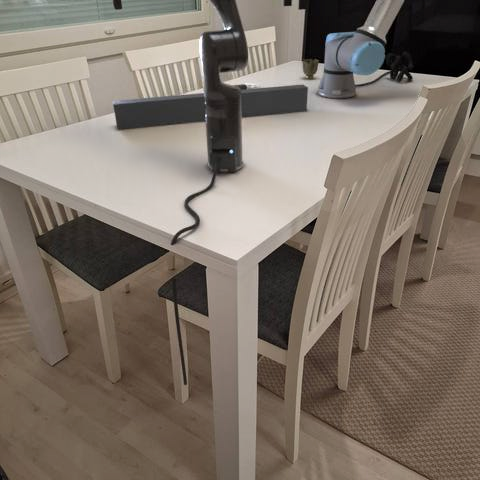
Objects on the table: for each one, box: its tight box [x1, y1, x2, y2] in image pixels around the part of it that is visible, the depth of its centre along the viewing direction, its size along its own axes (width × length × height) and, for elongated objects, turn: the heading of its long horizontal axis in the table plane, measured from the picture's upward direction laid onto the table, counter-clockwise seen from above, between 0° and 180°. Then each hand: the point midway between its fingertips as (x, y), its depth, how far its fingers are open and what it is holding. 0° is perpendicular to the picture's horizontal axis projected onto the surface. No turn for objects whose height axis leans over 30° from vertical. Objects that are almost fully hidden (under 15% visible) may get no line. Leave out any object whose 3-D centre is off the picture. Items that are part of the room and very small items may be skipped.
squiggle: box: [385, 51, 414, 83], centre depth 198 cm, size 11×10×15 cm
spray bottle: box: [231, 82, 261, 90], centre depth 184 cm, size 3×11×25 cm
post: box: [112, 84, 309, 130], centre depth 155 cm, size 67×5×8 cm, turn 105°
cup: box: [301, 58, 320, 80], centre depth 204 cm, size 8×7×8 cm
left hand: (118, 8), depth 132 cm, fingers open, 8 cm apart
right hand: (294, 7), depth 145 cm, fingers open, 13 cm apart
